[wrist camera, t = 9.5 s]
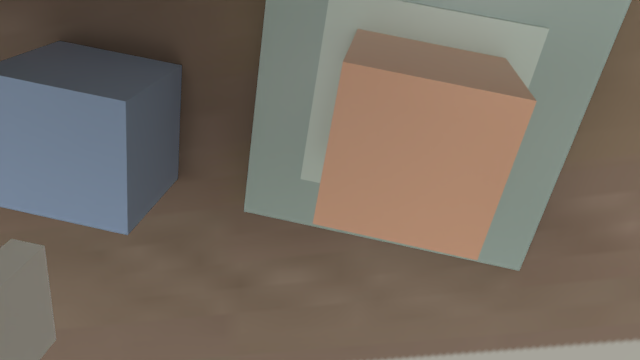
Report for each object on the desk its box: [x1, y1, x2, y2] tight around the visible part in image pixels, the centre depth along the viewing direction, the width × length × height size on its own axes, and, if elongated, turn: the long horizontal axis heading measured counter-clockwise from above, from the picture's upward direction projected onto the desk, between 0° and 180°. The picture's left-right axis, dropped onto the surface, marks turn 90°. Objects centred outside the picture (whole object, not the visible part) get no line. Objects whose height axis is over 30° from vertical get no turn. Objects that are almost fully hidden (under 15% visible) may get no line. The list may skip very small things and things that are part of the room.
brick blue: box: [0, 41, 182, 235], centre depth 27 cm, size 7×7×6 cm
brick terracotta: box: [313, 29, 537, 260], centre depth 23 cm, size 7×7×6 cm
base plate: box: [244, 0, 631, 271], centre depth 27 cm, size 16×16×2 cm
